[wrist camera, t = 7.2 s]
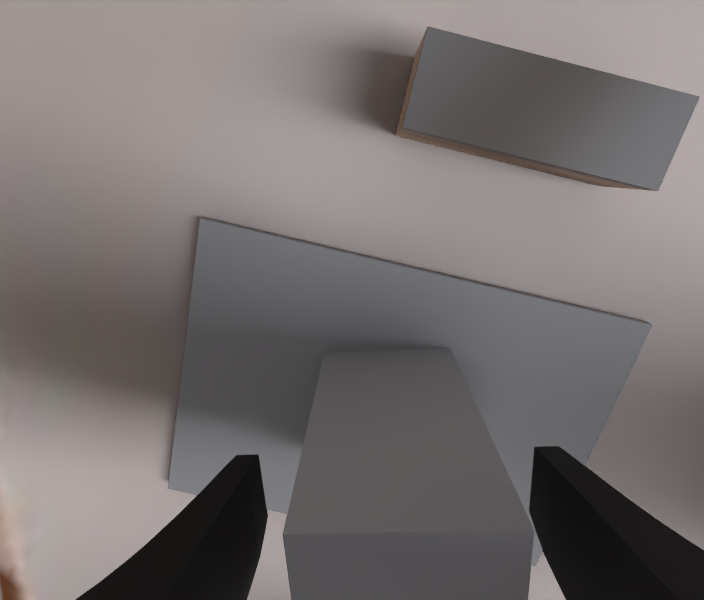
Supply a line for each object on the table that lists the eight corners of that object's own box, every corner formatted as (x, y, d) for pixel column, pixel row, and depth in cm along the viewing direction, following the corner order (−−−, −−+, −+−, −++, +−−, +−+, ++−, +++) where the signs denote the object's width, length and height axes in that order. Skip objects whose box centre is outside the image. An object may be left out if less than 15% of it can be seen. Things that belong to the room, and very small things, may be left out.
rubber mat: (646, 321, 13) (652, 325, 13) (532, 559, 16) (535, 566, 16) (203, 217, 13) (199, 218, 12) (171, 482, 16) (167, 488, 15)
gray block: (450, 347, 13) (534, 530, 7) (448, 454, 14) (518, 700, 8) (324, 352, 13) (282, 534, 7) (333, 457, 15) (304, 698, 8)
